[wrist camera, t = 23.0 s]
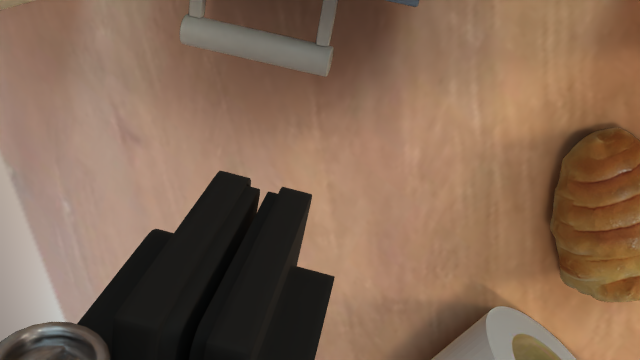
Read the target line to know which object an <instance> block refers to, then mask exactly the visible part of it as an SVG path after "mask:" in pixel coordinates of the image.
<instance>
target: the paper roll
mask: <svg viewBox="0 0 640 360" xmlns="http://www.w3.org/2000/svg"><path fill="white" fill-rule="evenodd" d="M32 1H36V0H0V10H2V9H6V8H10V7H14V6H17V5H21V4H25V3H28V2H32Z"/></svg>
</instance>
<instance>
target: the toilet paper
mask: <svg viewBox="0 0 640 360" xmlns="http://www.w3.org/2000/svg"><path fill="white" fill-rule="evenodd" d="M431 360H576V359H575V357H574V356H573V355H572V354H571V353H570V352H569V351H568V350H567V349H566V348H565V346H564V345H563V344H562V343H561V342H560V341H559V340H558V339H557V338H555V337H554V336H553V335H552V334H551V333H550V332H549V331H548V330H546V329H545V328H544V327H543V326H541V325H540V324H539V323H538V322H536V321H535V320H533V319H532V318H530V317H529V316H527V315H525V314H524V313H522V312H520V311H518V310H515V309H513V308H509V307H504V306H499V307H495V308H493V309H492V310H490V311H489V312H488V313H487V314H485V315H484V316H483V317H482V318H481V319H479V320H478V321H477V322H476V323H475V324H473V325H472V326H471V327H470V328H469V329H467V330H466V331H465V332H464V333H462V334H461V335H460V336H459V337H458V338H456V339H455V340H454V341H453V342H452V343H450V344H449V345H448V346H447V347H446V348H444V349H443V350H442V351H441V352H439V353H438V354H437V355H436V356H435V357H433V358H432V359H431Z"/></svg>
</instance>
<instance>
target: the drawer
mask: <svg viewBox="0 0 640 360" xmlns="http://www.w3.org/2000/svg"><path fill="white" fill-rule="evenodd" d="M386 1H390V2H395V3H399V4H404V5H408V6H413V7H417V6H418V4H419V0H386ZM205 3H206V0H190V2H189V14H186V15H185V16H184V18H183V20H182V23H181V26H180V41H181V43H182V44H185V45H189V46H194V47H198V48H202V49H207V50H211V51H215V52H220V53H224V54H228V55H233V56H237V57H241V58H246V59H250V60H254V61H259V62H263V63H267V64H272V65H276V66H280V67H285V68H289V69H293V70H298V71H302V72H307V73H311V74H315V75H320V76H324V77H327V75H328V73H329V70H330V66H331V62H332V57H333V47H332V46H329V44H330V41H331V35H332V30H333V25H334V20H335V15H336V9H337V4H338V0H323V5H322V10H321V16H320V21H319V27H318V32H317V38H316V43H314V42H310V41H305V40H301V39H297V38H292V37H288V36H283V35H279V34H275V33H270V32H266V31H261V30H257V29H252V28H248V27H244V26H239V25H235V24H230V23H226V22H222V21H217V20H213V19H208V18H204V17H203V16H204V13H205Z"/></svg>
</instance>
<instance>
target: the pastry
mask: <svg viewBox="0 0 640 360" xmlns="http://www.w3.org/2000/svg"><path fill="white" fill-rule="evenodd" d="M550 229H551V232H552V233H553V235H554V237H555V239H556V247H557V251H558V254H559V261H560V268H561V269H560V277H561V279H562V281H563V282H564V283H565V284H566V285H568V286H569V287H572V288H576V289H577V290H578V291H579V292H580V293H583V294H587V295H591V296H592V297H593V298H595V299H597V300H600V301H604V302H628V301H637V300H640V141H639V140H638V139H636V138H635V137H634V136H632V135H631V134H630V133H628V132H627V131H625V130H623V129H620V128H610V129H603V130H599V131H596V132H593V133H591V134H590V135H588V136H586V137H585V138H584V139H582V140H581V141H580V142H578V143H577V144H576V145H575V146H574V147H573V148H572V149H571V151H570V152H569V153H568V154H567V155H566V156H565V157H564V158H563V160H562V167H561V172H560V180H559V182H558V185H557V187H556V189H555V196H554V204H553V214H552V219H551V222H550Z"/></svg>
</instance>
